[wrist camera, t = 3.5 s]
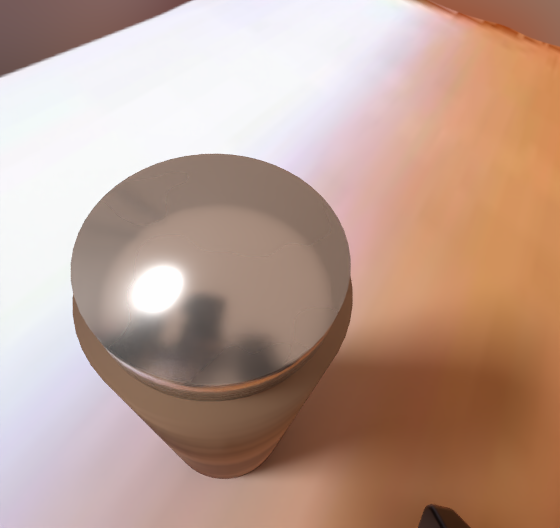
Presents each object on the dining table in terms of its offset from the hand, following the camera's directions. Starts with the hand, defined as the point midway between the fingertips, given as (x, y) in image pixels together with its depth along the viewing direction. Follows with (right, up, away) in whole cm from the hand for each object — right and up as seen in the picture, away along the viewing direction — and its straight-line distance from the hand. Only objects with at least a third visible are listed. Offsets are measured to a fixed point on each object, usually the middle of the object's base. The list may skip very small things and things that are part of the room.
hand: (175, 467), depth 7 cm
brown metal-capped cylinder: (-1, -3, +10) cm, 11 cm away
